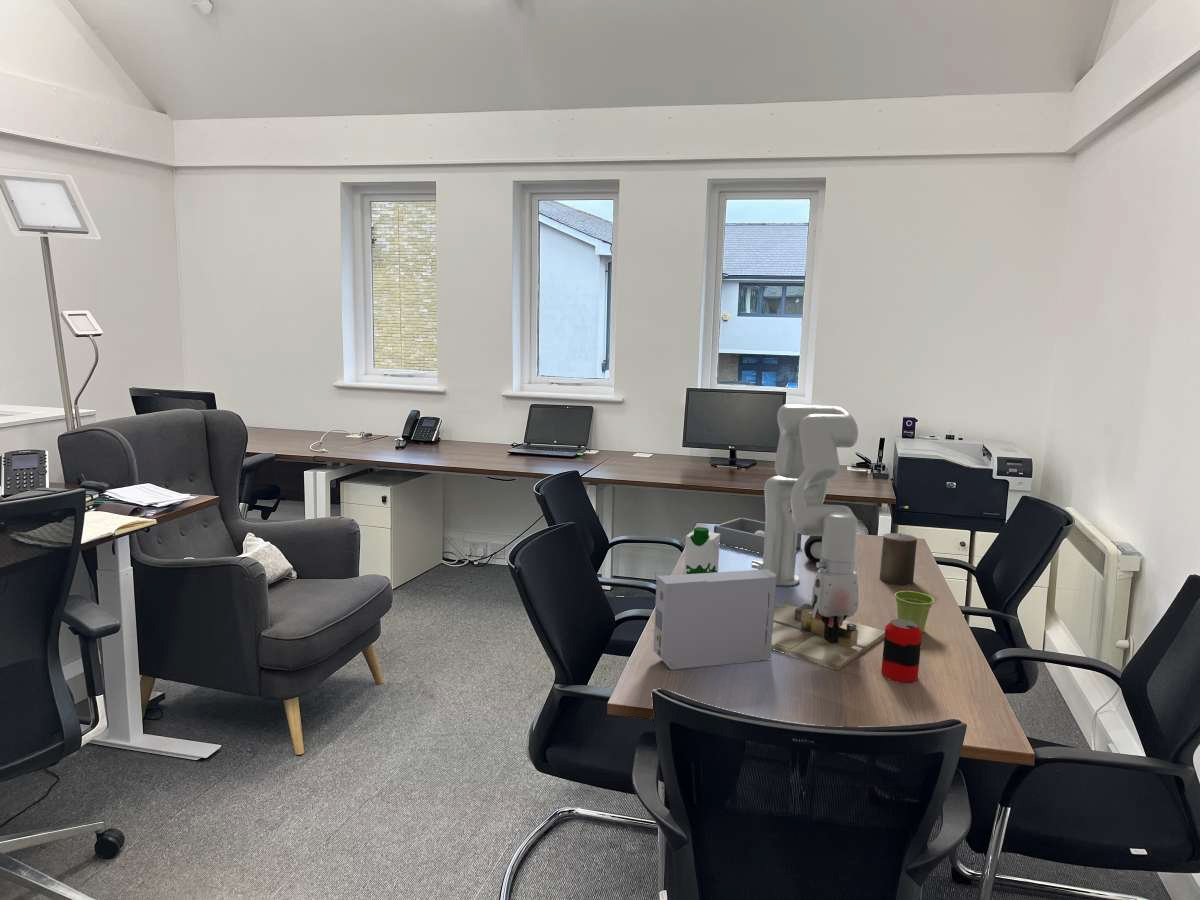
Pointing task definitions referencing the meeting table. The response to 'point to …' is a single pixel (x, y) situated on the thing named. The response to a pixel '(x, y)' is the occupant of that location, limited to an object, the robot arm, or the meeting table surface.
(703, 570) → the milk carton
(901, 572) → the pillar candle
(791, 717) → the meeting table surface
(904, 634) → the soda can
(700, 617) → the game console
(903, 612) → the plant pot
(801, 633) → the lock board
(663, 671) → the meeting table surface
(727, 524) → the organiser frame
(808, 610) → the swing bar
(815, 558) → the portable speaker
